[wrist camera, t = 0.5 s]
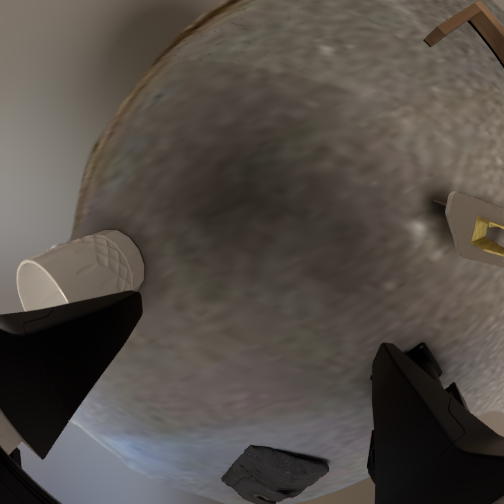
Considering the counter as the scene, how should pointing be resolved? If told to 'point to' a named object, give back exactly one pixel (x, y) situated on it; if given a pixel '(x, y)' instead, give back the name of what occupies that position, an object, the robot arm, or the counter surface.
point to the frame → (483, 23)
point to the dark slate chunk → (271, 475)
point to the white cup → (80, 271)
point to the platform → (474, 227)
